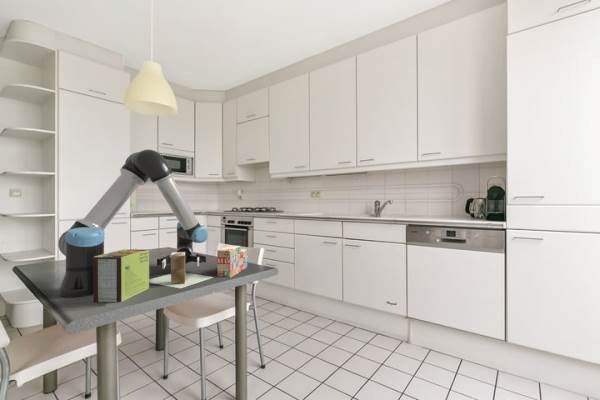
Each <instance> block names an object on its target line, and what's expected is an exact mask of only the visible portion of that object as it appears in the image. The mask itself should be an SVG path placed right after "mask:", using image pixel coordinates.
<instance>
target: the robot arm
mask: <svg viewBox="0 0 600 400" xmlns="http://www.w3.org/2000/svg"><path fill="white" fill-rule="evenodd" d="M124 162H125V163H124V164H123V165H122V167H120V169H119V170H120V175H118V177H117V178H116V180H115V181H114V182H113V183H112V184H111V186H110V187H109V188H108V189H107V190H106V192H104V194H103V195H102V196H101V198H100V199H99V200H98V201H97V202H96V204H94V206H93V207H92V208H91V209H90V210H89V212H88V213H87V214H86V215H85V217H84V218H82V219H76V221H75V222H74V223H73V224H72V226H71V227H70V228H69V229H68V230H66V231H65V232H63V233H62V234H61V235H60V237H59V239H58V243H57V244H58V245H57V246H58V248H59V251H60V253H61V254H62V255H64V256H65V273H64V276H63V280H62V282H61V285H60V287H59V296H60V297H63V298H79V297H85V296H87V297H88V296H92V295H93V257H95V256H99V255H103V254H105V229H106V228H107V227H108V225H109V224H110V223H111V221H113V219H114V217H115V216H116V215H117V214H118V212H119V211H121V209H122V208H123V207H124V205H125V204H126V202H127V201H128V200H129V199H130V198H131V196H132V195H133V193H134V192H135V191H136V190H137V189H138V187H139V186H145V184H146V183H147V182H148V180H149V179H150V181H151V183H152V184H155V185H156V186H157V188H158V190H159V191H160V194H161V195H162V196H163V198H164V199H165V201H166V203H167V204H168V206H169V207H170V209H171V210H172V213H173V214H174V217H176V219H177V220H178V222H177V223H176V252H185V265H187V264H188V263H196V264H197V265H196V266H197V267H200V264H202V263H207V256H205V255H202V254H200V253H195V254H194V255H193V253H194V248H193V245H194V244H193V243H195V244H203V243H204V242H205V241H207V240H208V238H209V231H208V229H206V228H205V227H203V226H202V225H201V224H200V223H199V220H198V218H197V217H196V215H195V214H194V212H193V210H192V209H191V207H190V205H189V203H188V201H187V199H186V198H185V195H184V194H183V193H182V191H181V189H180V188H179V185H178V184H177V183H176V180H175V179H174V177H173V174H174V173H173V171H172V168H171V167H170V165H169V163H168V162H167V161H166V158H164V156H162V154H161V153H159V152H158V151H156V150H154V149H144V150H141V151H136V152H133V153H131V154H130V155H129V156H128V157H127V158H126V159H125V161H124ZM169 264H170V265H171V254H169V255H166V256H164V257H160V258H157V259H156V266H160V267H161V269H163V270H164V269H165V268H166V265H169Z"/></svg>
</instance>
